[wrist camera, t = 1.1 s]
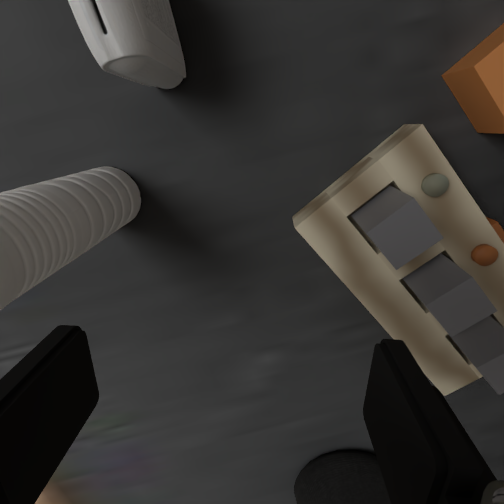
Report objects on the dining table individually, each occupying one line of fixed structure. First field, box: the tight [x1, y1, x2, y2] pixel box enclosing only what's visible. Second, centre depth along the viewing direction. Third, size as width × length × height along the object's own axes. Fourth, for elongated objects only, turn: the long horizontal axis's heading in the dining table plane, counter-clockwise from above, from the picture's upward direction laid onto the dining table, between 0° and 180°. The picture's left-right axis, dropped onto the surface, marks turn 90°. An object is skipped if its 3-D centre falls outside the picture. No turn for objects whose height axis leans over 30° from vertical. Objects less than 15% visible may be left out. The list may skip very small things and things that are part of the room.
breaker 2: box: [402, 253, 497, 337], centre depth 30 cm, size 4×4×6 cm
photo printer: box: [68, 0, 186, 89], centre depth 23 cm, size 10×4×12 cm, turn 13°
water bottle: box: [0, 167, 141, 310], centre depth 24 cm, size 9×6×25 cm
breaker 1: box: [351, 185, 443, 270], centre depth 28 cm, size 4×4×6 cm
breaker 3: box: [448, 316, 504, 395], centre depth 33 cm, size 4×4×6 cm
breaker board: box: [292, 124, 504, 396], centre depth 34 cm, size 15×28×5 cm, turn 42°
